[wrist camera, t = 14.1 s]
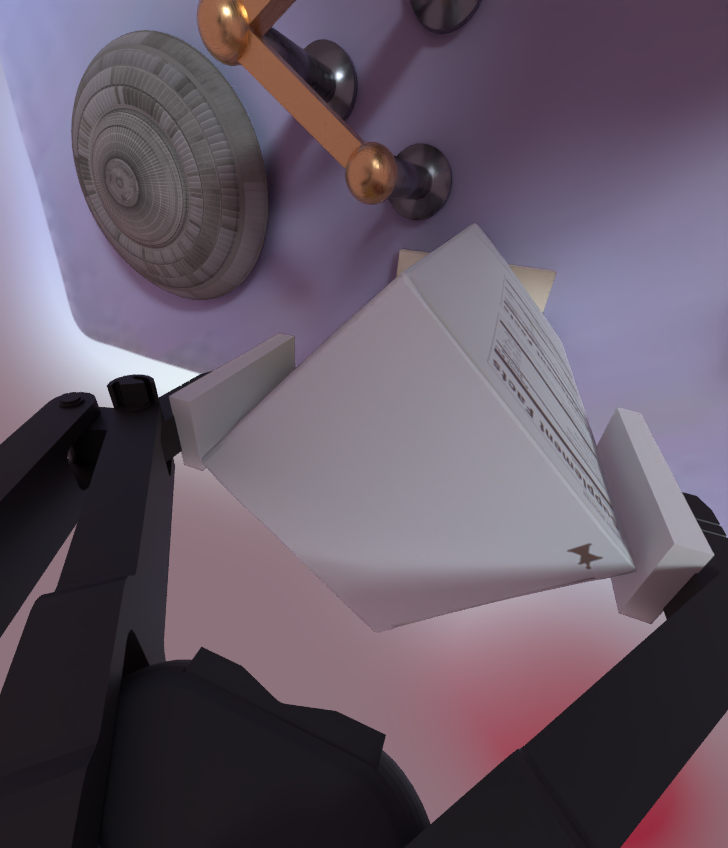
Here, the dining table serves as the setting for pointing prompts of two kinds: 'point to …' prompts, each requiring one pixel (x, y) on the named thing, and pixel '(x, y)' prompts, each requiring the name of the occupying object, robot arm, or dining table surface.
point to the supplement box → (432, 450)
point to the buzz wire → (333, 96)
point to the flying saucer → (170, 165)
